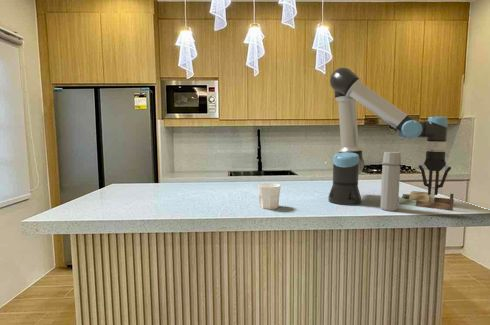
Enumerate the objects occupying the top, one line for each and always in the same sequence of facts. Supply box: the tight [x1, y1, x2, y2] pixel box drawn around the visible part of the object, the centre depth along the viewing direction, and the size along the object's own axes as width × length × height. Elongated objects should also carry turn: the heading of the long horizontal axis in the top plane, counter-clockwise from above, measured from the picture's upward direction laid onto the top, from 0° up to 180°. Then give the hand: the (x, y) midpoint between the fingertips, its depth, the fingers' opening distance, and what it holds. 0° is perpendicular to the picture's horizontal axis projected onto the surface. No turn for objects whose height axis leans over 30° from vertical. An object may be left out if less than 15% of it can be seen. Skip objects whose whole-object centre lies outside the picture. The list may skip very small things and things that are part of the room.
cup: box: [257, 182, 281, 210], centre depth 136 cm, size 10×10×10 cm
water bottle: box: [379, 151, 402, 212], centre depth 132 cm, size 9×8×25 cm
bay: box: [398, 193, 454, 211], centre depth 142 cm, size 21×14×5 cm, turn 56°
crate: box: [409, 190, 431, 202], centre depth 143 cm, size 8×8×5 cm
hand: (432, 201), depth 141 cm, fingers closed
